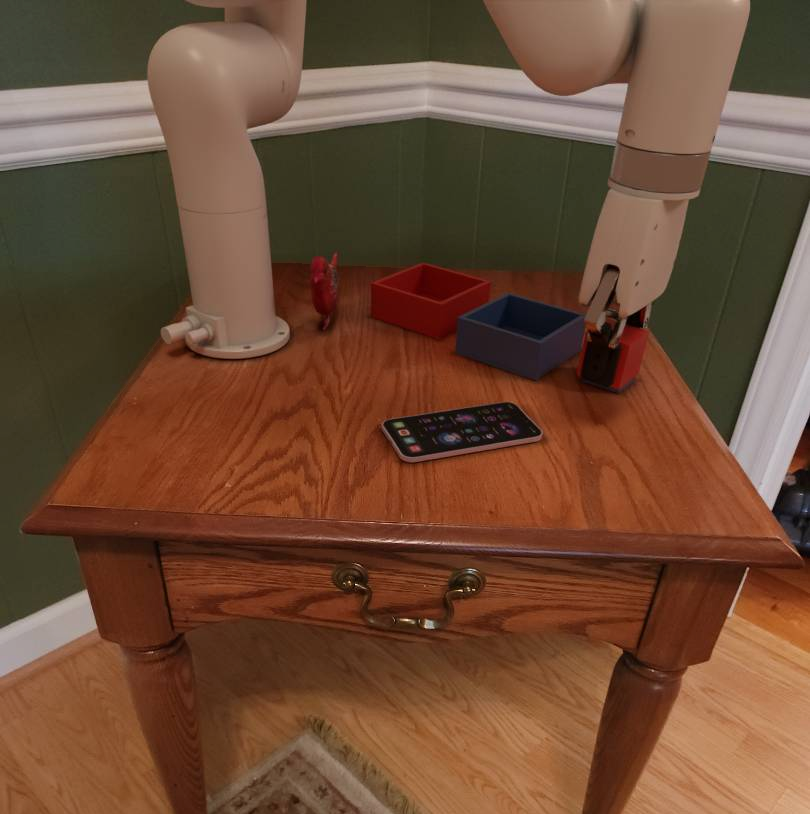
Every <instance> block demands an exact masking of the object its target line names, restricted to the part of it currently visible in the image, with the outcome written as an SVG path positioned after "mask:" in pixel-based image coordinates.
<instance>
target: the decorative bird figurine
mask: <svg viewBox="0 0 810 814" xmlns="http://www.w3.org/2000/svg"><path fill="white" fill-rule="evenodd" d="M338 255H339V251H338V250H335V251H334V253H333V256H332V259H331V261H330V263H329V262H328V260H327V259H326V258H325V257H323V256H320V255H316V256H314V257H313V258H312V261H311V263H310V269H309V281H310V282H309V283H310V297H311V303H312V305H313V308H314V310H315V311H316V312H317V313H318V314H319V315H321V316H324V322H323V324H322V326H323V328H322V332H324V331H325V330H326V329H327V328H328V327H329V324H330V320H331V319H330V317H331V314H332V313H333V311H334V310H335V308H336V305H337V301H338V296H339V273H338V270H337V266H338V258H339V257H338Z"/></svg>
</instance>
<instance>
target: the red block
mask: <svg viewBox="0 0 810 814" xmlns="http://www.w3.org/2000/svg"><path fill="white" fill-rule="evenodd" d="M606 322H607V323H610V324H611V327H612V330H613V329H614V326H615V323H616V320H615V319H614V320H613V319H611V318H606ZM587 334H588V330H585V333H584V338H583V342H582V348H581V353H580V357H579V362H578V367H577V372H576V376H578V377H581V376H580V373H581V369H582V364H583V360H584V355H585V350H586V346H587ZM649 336H650V331H648V330H646V329H643V328H636V327H633V326H630V325H627V324H625V326H624V329H623V332H622V335H621V338H620V341H619V344H618V346H620V347H622V349H621V353H620V357H619V361H618V365H617V369H616V373H615V377H614V381H613V384H612V385H611V386H610V387H612V388H615V389H618V390H619V389H620V388H621V387H623V386H624V385H625V384H626V383H628V382H629V381H630V380H632V379H633V378H634V377H635V376H636V377H637V376H638V375H639V372H640V368H641V366H642V365H641V364H642V361H643V357H644V355H645V354H644V353H645V351H646V347H647V343H648V338H649Z"/></svg>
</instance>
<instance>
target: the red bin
mask: <svg viewBox="0 0 810 814" xmlns="http://www.w3.org/2000/svg"><path fill="white" fill-rule="evenodd" d="M491 287H492V281H490V280H488V279H483V278H480V277H478V276H477V277H476V276H473V275H470V274H466V273H462V272H459V271H455V270H452V269H448V268H444V267H441V266H437V265H434V264H430V263H426V262H421V263H419V264H415V265H413V266H410V267H408V268H406V269H403V270H400V271H397V272H395V273H393V274H390V275H387V276H385V277H383V278H380V279H377V280H374V281H372V282H370V317H371V318H373V319H376V320H379V321H382V322H385V323H387V324H391V325H394V326H397V327H401V328H403V329H407V330H409V331H412V332H415V333H418V334H421V335H424V336H427V337H430V338H433V339H435V340H441V339H444V338H446V337H447V336H450V335H451V334H453V333H455V332H457V322H458V317H460V316H461V315H463V314H466V313H468V312H470V311H472V310H474V309H476V308H478V307H480V306H482V305H484V304H486V303H488V302H490V295H491Z"/></svg>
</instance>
